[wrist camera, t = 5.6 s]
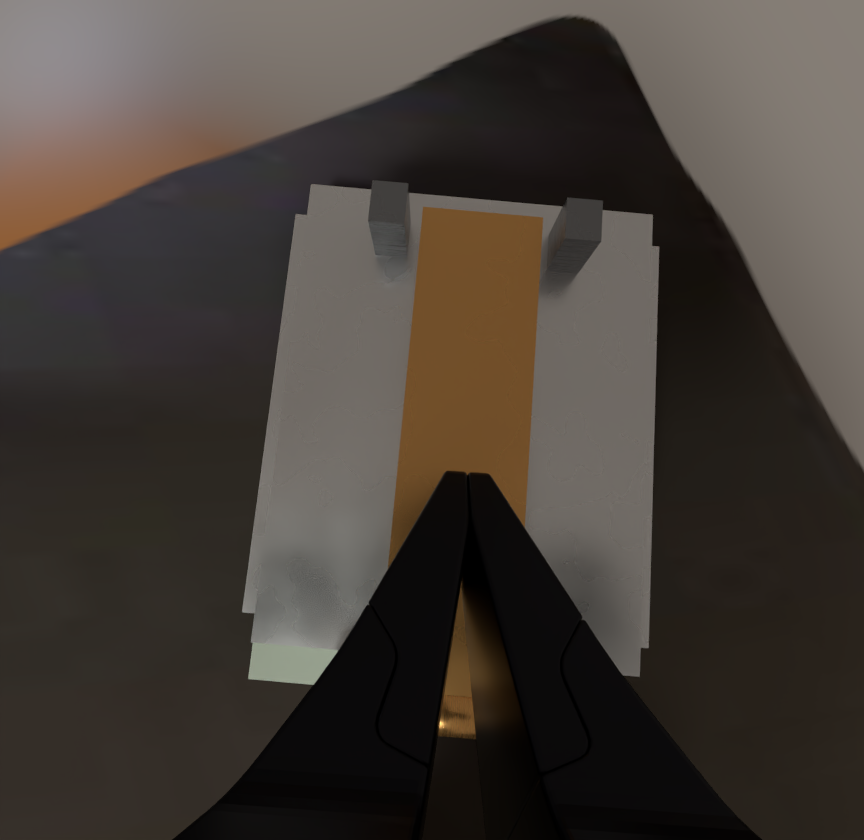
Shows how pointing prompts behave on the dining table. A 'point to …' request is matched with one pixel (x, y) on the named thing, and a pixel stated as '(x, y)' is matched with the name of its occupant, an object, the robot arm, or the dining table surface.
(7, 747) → the dining table surface
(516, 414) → the strap
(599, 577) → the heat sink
